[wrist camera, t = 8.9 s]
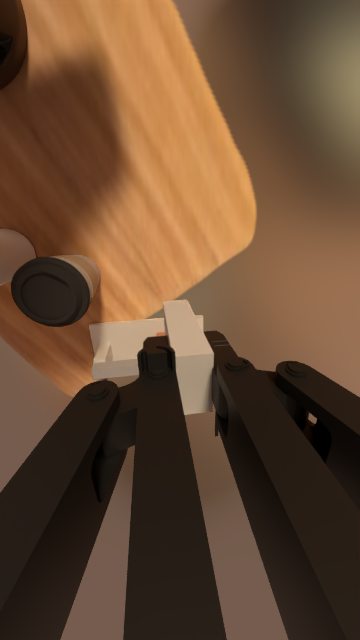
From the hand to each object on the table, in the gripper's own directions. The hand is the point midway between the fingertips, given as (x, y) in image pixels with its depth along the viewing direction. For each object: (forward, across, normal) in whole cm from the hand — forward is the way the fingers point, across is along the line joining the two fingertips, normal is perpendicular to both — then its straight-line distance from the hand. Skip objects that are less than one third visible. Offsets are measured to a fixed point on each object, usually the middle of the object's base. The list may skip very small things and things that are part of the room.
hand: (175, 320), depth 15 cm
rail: (+29, -3, -17) cm, 34 cm away
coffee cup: (+30, -14, -2) cm, 33 cm away
